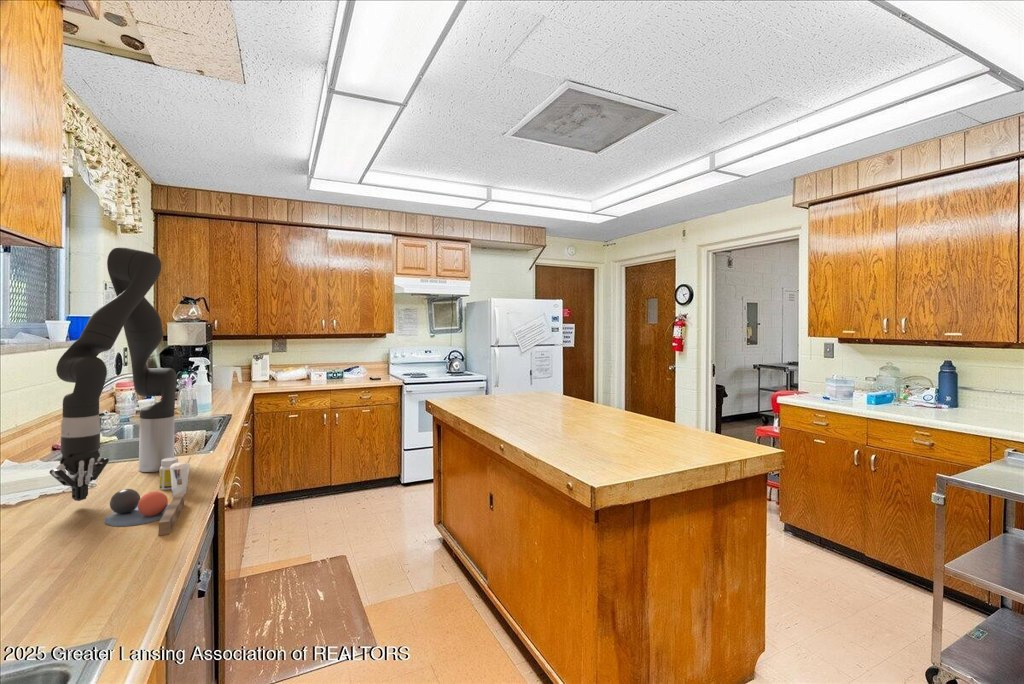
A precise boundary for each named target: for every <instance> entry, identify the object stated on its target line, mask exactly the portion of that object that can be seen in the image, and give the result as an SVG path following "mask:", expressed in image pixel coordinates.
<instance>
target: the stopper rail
mask: <svg viewBox="0 0 1024 684" xmlns="http://www.w3.org/2000/svg"><path fill="white" fill-rule="evenodd" d="M185 495H186V494H185V493H184V494H175V496H173V498H172V500H171V501H170V503H169V504H168V505H169V506H168V508H167V509H166V511H165V513H164V514H163V516H162V518H161V519H160V520H158V521H159V522H158V531H157V532H158V533H157V534H158V536H166V535H170V533H171V532H172V530H173V528H174V525H175V523H176V522H177V520H178V518H179V516H180V514H181V512H182V510H183V508H184V506H185Z"/></svg>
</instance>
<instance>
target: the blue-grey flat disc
mask: <svg viewBox="0 0 1024 684" xmlns="http://www.w3.org/2000/svg"><path fill="white" fill-rule="evenodd" d="M168 506H169V504H167V507H166V508H165V510H164V511H163V512H162V513H160V514H158V515H156V516H144V515H142V514H141V513H140V512H139V510H138V506H137V508H136V509H134V510H133V511H131V512H129V513H126V514H118V513H115V512H112V513H111V514H110V515H109V514H108V516H106V517H105V518H104V524H105V525H106V526H107V525H108V526H111V527H133V526H140V525H145V524H150V523H153V522H157V521H160V519H161V518H162V516H163V514H164V513H165V511H166V509H167V508H168Z"/></svg>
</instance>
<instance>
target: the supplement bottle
mask: <svg viewBox="0 0 1024 684" xmlns="http://www.w3.org/2000/svg"><path fill="white" fill-rule="evenodd" d="M177 462H179V458H178V457H174V458H166V459H163V460H161V465H162V466H161V467H160V471H159V477H158V478H159V481H158V482H159V486H158V487H159V488H158V489H159V490H161V491H169V490H171V491H172V485H171V473H170V466H171V465H172V464H174V463H177Z"/></svg>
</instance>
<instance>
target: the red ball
mask: <svg viewBox="0 0 1024 684" xmlns="http://www.w3.org/2000/svg"><path fill="white" fill-rule="evenodd" d="M168 501H169V499H168V497H167V494H165V493H164V492H162V491H158V490H153V491H149V492H148V493H145V494H143V496H141V497H140V500H139V502H138V510H139V512H140V513H141V514H142V515H144V516H156V515H158V514H160V513H162V512H163V511H164V510H165V508H166V507H167V504H168V503H169V502H168ZM168 505H169V504H168Z"/></svg>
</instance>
